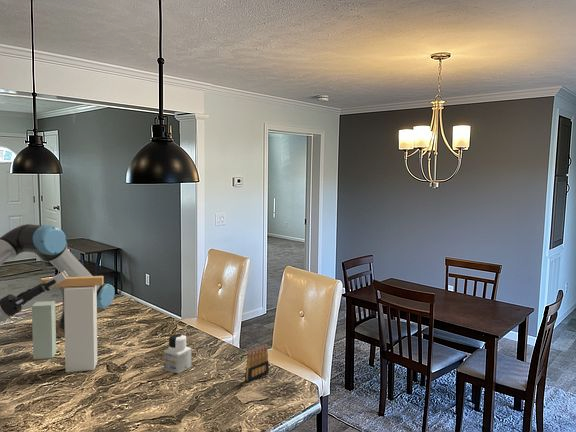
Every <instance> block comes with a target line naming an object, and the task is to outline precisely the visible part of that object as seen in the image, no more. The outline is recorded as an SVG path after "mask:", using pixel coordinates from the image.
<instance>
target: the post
mask: <svg viewBox="0 0 576 432" xmlns="http://www.w3.org/2000/svg"><path fill="white" fill-rule="evenodd" d="M64 320H65V328H64V352H65V353H64V355H65V356H64V358H65V361H64V363H65V373H72V372H73V373H74V372H84V371H94V370H95V368H96V367H97V363H98V308H97V291H96V286H71V287H66V288H65V289H64Z"/></svg>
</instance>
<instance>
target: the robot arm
mask: <svg viewBox="0 0 576 432" xmlns="http://www.w3.org/2000/svg"><path fill="white" fill-rule="evenodd" d="M66 239H67V236H66V234H65V232H64V231H63V230H62V229H61V228H59V227H56V226H52V225H48V224H47V225H45V224H44V225H43V224H42V225H41V224H32V223H29V224H27V223H26V224H22V225H19V226H17V227H15V228H13V229H11V230H9V231H7V232H6V233H5V234H3V235H1V236H0V266H2V265H3V264H4V263H5V262H7V261H8V260H9V259H14V258H16V257H17V256H19V254H22V253H26V252H27V253H33V254H35V255H37V257H38V258H40V259H41V260H42V261H43V262H48V263H50V264H51V265H52V266H53V267H55V269H56V270H57V271H58V272H59V273H58V274H56V275H53V276H52V277H51V278H52V279H50V280H48V281H46V284H45V283H43V284H42V282H41V283H39V284H37V285H36V286H34V287H32V288H28V289H27V290H25V291H22V292H20V293H19V294H18V295H14V294H11V293H9V294H7V295H5V296H3V297H2V298H0V323H1V322H3V323H5V322H7V319H9V318H10V317H13V316H15V315H17V314H18V313H20V312H21V311H22V308H23V307H22V306H24V305H25V304H26V303H28V302H30V301H31V300H33V298H35V297H38V296H39V295H41V294H42V293H44V292H46V291H47V292H49V291H50V290H51V288H54V287H53V286H54V285H56V284H58V283H60V282H62V281H63V280H65V279H66V277H85V276H93V274H91V273H90V271H89V270H88V269H87V268H86V267H85V266H84V265H83V264H82V263H81V262H80V260H78V258H76V256H75V255H74V254H73V253H71V251H70V250H69V249H68V248H67V247H68V243H67V240H66ZM65 288H66V287H61V289H62V313H61V315H60V319H59V321H58V322H59V323H58V324H59V328H61V329H65V320H64V289H65ZM96 291H97V309H105V308H107V307H109V306H110V305H111V304H112V302H113V301H114V299H115V291H116V290H115V288H114V286H113V285H112V284H110V283H105V282H104V283H103V285H96Z"/></svg>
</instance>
